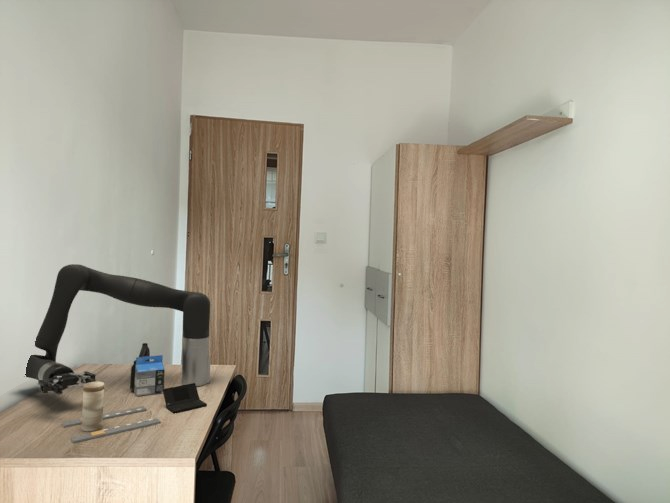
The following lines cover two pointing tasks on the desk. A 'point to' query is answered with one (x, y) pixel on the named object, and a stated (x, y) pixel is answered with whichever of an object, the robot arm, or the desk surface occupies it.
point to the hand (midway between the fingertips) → (77, 387)
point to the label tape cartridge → (149, 375)
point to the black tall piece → (143, 353)
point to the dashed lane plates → (111, 430)
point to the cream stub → (92, 406)
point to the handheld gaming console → (182, 398)
